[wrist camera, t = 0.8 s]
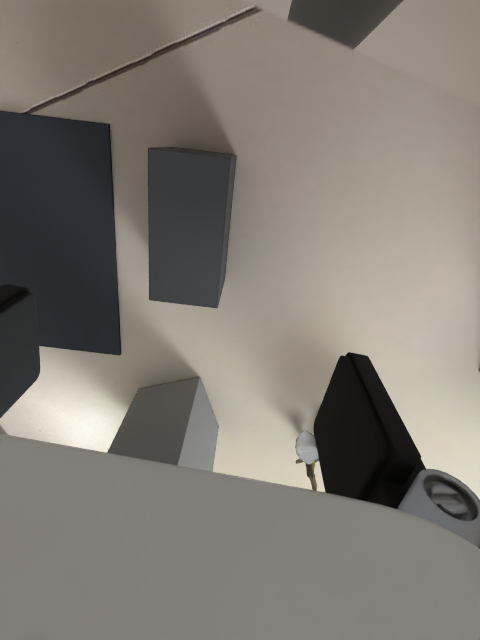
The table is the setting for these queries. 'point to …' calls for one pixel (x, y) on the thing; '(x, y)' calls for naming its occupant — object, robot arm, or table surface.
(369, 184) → the table surface
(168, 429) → the perfume bottle
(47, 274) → the rubber mat
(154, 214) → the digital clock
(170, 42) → the table surface
